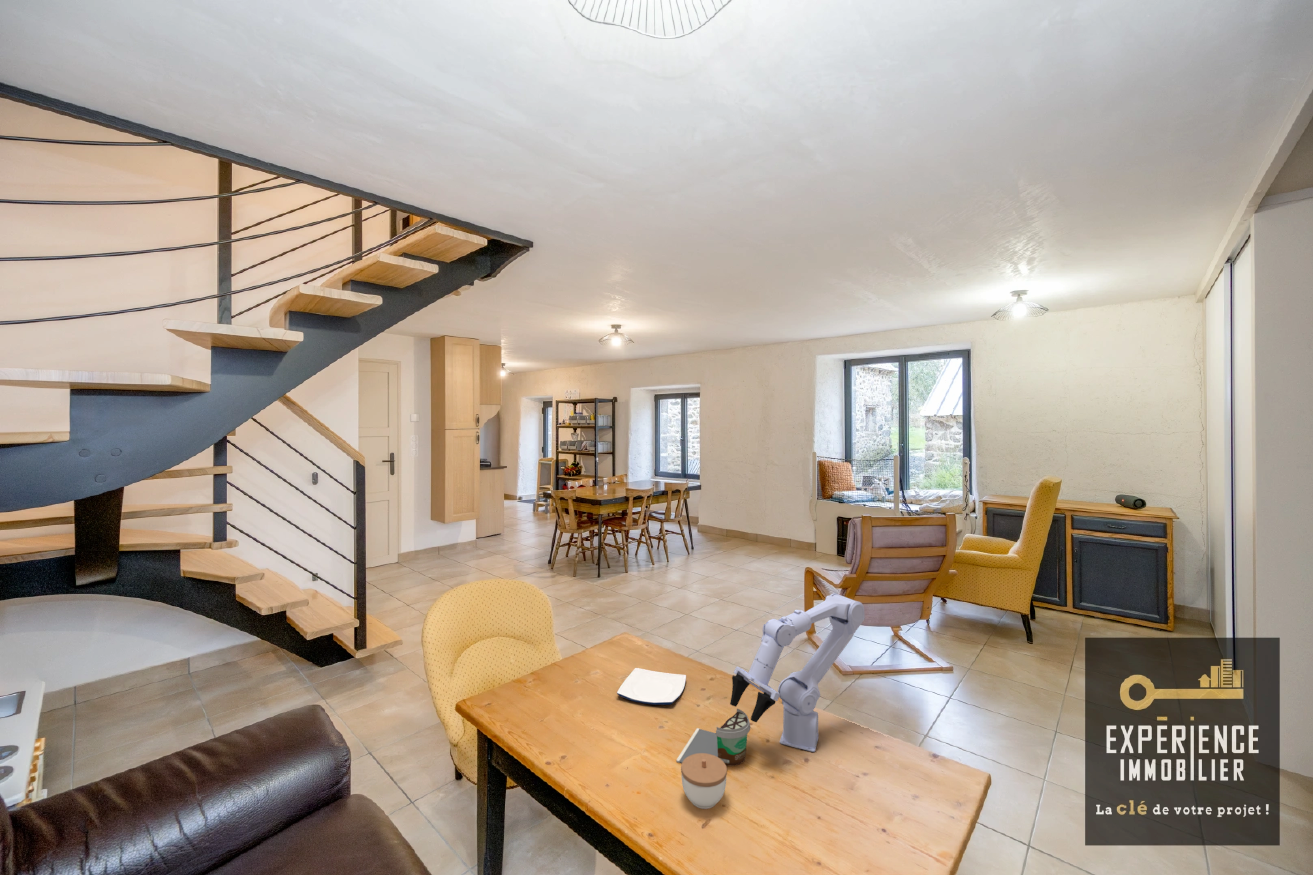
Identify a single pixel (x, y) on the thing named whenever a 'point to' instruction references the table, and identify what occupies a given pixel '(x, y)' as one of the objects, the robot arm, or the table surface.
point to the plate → (652, 687)
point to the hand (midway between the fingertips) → (742, 712)
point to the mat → (700, 744)
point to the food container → (733, 739)
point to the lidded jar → (703, 779)
